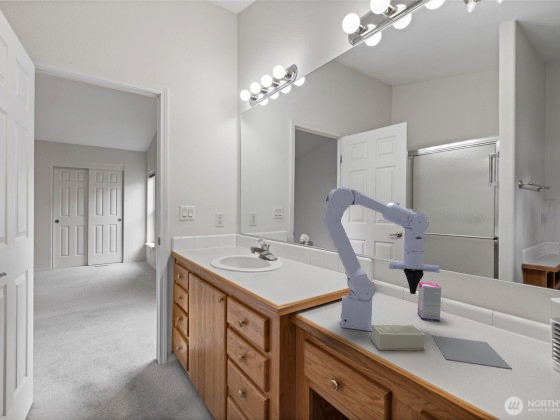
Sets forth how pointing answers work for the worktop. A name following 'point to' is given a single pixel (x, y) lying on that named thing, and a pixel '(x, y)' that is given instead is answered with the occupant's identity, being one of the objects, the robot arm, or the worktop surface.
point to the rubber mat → (469, 351)
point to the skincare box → (397, 337)
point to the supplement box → (429, 301)
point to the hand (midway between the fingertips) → (412, 293)
